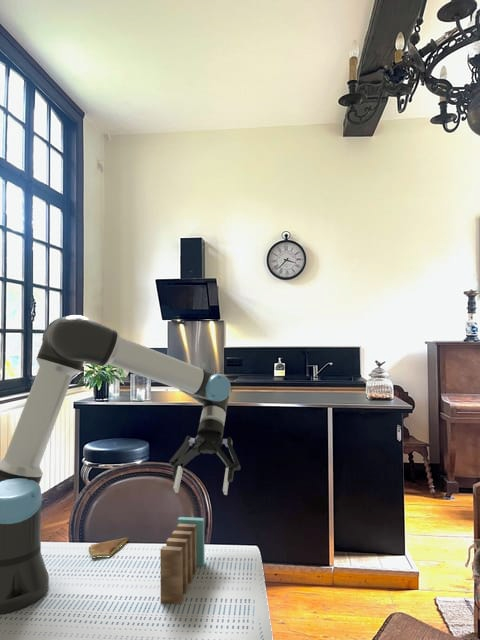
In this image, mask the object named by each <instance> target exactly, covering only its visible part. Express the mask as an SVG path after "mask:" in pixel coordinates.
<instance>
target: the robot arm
mask: <svg viewBox="0 0 480 640" xmlns="http://www.w3.org/2000/svg"><path fill="white" fill-rule="evenodd" d="M41 340H42V342H41V345H40V348H39V351H38V353H37V356H36V358H35V359H36V361H37V362H36V363H38V366H39V368H38V370H37V373H36V375H35V378H34V381H33V383H32V385H31V388H30V390H29V394H28V395H27V399H26V401H25V403H24V406H23V409H22V411H21V414H20V417H19V418H18V422H17V424H16V427H15V429H14V432H13V434H12V437H11V439H10V442H9V445H8V447H7V450H6V453H5V455H4V457H3V458H2V459H0V615H1V614H8V613H11V612H15V611H17V610H21V609H24V608H26V607H28V606H30V605H31V604H34V603H36V602H37V601H39V600H41V598H42V597H43V596H44V595H46V593H47V592H48V591H49V587H50V584H49V583H50V579H49V578H50V575H49V572H48V570H47V567H46V564H45V561H44V557H43V555H42V550H41V549H42V547H41V546H42V544H41V543H42V501H43V495H42V490H41V486H40V482H41V480H42V477H43V475H44V473H43V471H42V469H41V467H40V466H41V463H42V460H43V457H44V454H45V452H46V449H47V446H48V445H49V444H48V443H49V442H50V438H51V436H52V432H53V430H54V428H55V427H54V426H56V422H57V419H58V416H59V414H60V411H61V408H62V406H63V403H64V401H65V398H66V396H67V393H68V389H69V386H70V385H71V383H72V379H73V377H74V376H75V375H78V374H79V373H81V371H82V370H83V369H82V368H83V367H84V364H85V363H90V364H93V365H96V366H99V367H103V368H104V367H106V366H112V367H115V368H118V369H121V370H123V371H126V372H129V373H132V374H135V375H138V376H140V377H142V378H146V379H149V380H151V381H154V382H157V383H160V384H162V385H166V386H169V387H172V388H174V389H177V390H179V391H180V392H182V393H184V394H185V395H187V396H188V397H190V398H192V399H194V400H195V401H197V402H198V403H200V404H202V409H201V415H200V420H199V425H198V429H197V435H196V437H191V436H190V435H186V437H185V439H184V442H183V443H182V444H181V446H179V448H178V449H177V450H176V452H175V454H173V456H172V457H171V458H170V459H169V461H168V462H169V465H170V467H171V468H172V469H173V473H172V478H173V480H174V483H173V491H174V492H175V494H177V493H178V494H179V490H180V486H181V480H182V476H183V472H184V471H183V468H184V467H185V466H186V465H188V463H189V462H190V461H192V460H193V459H194V458H195V457H196V456H199V455H200V454H201V453H202V454H204V455H205V454H209V455H213V454H216V455H217V456H218V457H219V458H220V460H221V462H223V464H224V465H225V466H226V467H225V472H224V477H223V478H224V479H223V486H222V492H223V495H225V496H227V495H228V489H229V483H232V482H233V480H234V472H235V471H240V470H241V464H240V461H239V458H238V456H237V453H236V452H235V449H234V446H233V440H232V437H231V436H228V437H227V438H223V436H224V432H225V431H224V430H225V422H226V416H227V411H228V410H227V408H228V404H229V399H230V392H231V390H232V389H231V382H230V379H228V377H227V376H225V375H223V374H220V373H214V372H211V371H209V370H206V369H203V368H201V367H198V366H196V365H194V364H190V363H188V362H186V361H183V360H181V359H178V358H175V357H173V356H171V355H168V354H165V353H163V352H160V351H157V350H155V349H153V348H149V347H147V346H145V345H142V344H140V343H137V342H135V341H132V340H130V339H127V338H124V337H122V336H120V333H119V331H117V330H115V329H112V328H110V327H108V326H105V325H103V324H101V323H99V322H97V321H96V320H93V319H91V318H88V317H87V316H83V315H80V314H71V315H66V316H63V317H58V318H57V319H54V320H52V321H51V322H50V323H49V324H48V325H47V326H46V327H45V330H44V331H43V334H42V339H41ZM193 444H194V445H193ZM223 445H225V447H226V448H228V452H229V453H230V457H231V459H232V461H233V463H232V462H231V460H230V459H229V458H228V456H227V455H226V453H225V452H224V451H223V450H222V448H221V447H222V446H223ZM190 447H191V449H190Z"/></svg>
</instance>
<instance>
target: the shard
mask: <svg viewBox="0 0 480 640" xmlns="http://www.w3.org/2000/svg"><path fill="white" fill-rule="evenodd" d="M129 538H130V536H126V537H122V538H118V539H112V540H111V539H110V540H106V541H101V542H97V543H94V544H90V545H89V546H88V551H89V550H90V551H89V553H90V552H91V553H90V555H92V557H91V559H94V558H93V557H97V556H111V557H112V555H113V553H115V552H117V551H118V550H119V549H120V548H119V547H120V546H121V545H123V544H124V545H125V544H126V543H127V542H128V539H129ZM124 545H123V546H124ZM118 548H119V549H118ZM117 549H118V550H117ZM116 550H117V551H116ZM97 558H98V557H97Z"/></svg>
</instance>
